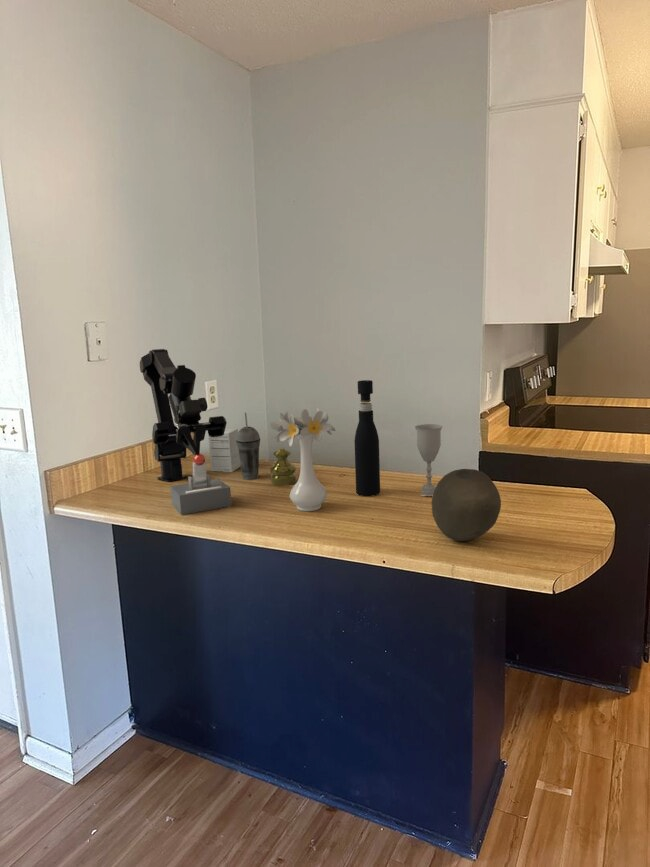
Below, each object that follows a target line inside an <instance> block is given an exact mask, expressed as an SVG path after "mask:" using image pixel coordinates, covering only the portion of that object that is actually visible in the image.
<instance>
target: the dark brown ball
mask: <svg viewBox="0 0 650 867" xmlns="http://www.w3.org/2000/svg"><path fill="white" fill-rule="evenodd" d="M435 486H436V488H435V490H434V493H433V496H432V497H431V513H432V517H433V520H434V522H435V524H436V526H437V528H438V529H439V530H440V531H441V534H443V535H444V536H446V538H448V539H451V540H453V541H457V542H468V541H471V540H474V539H478V538H480V537H482V536H483V535H485V534H486V533H487V532H488V531H489V530H491V529H492V528H493V527H494V525H495V524H496V523H497V520H498V518H499V515H500V511H501V509H502V508H501V507H502V501H501V500H502V499H501V496H500V491H499V490H498V488H497V486H496V484H495V483H494V481H493V480H492V479H491V478H490V477H489V475H488V474H486V473H485V472H483V471H481V470H477V469H473V468H472V469H471V468H459V469H455V470H451V471H450V472H448V473H447V474H445V475H443V476H442V478H441V479H440V480H438V482H437V484H436V485H435Z"/></svg>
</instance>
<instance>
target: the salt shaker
mask: <svg viewBox="0 0 650 867" xmlns="http://www.w3.org/2000/svg"><path fill="white" fill-rule="evenodd" d="M291 453H292V452H291V451H290V450H288V449H286V448H284V447H281V448H278V449H277V450H275V451H274V452H273V456H275V457H276V458H277V461H276V462H275V463H274V464H273V465H272V466H271V467H270V468H269V471H270V474H271V475H270V482H271V484H272V485H274V486H289V485H293V484H296V483H297V474H296V465H294V464H292V463H291V462H290V460H288V457H289V456H290V455H291Z"/></svg>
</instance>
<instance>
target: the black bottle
mask: <svg viewBox="0 0 650 867" xmlns="http://www.w3.org/2000/svg"><path fill="white" fill-rule="evenodd" d="M373 385H374V383H373V380H371V379H369V380H368V379H367V380H365V379H363V380H362V379H361V380H358V381H357V394H358V395H360V403H359V410H358V423H357V427H356V430H355V434H354V464H355V465H354V466H355V467H354V469H355V470H354V471H355V493H357V494H358V496H360V495H363V496H362V497H373V496H372V495H375V496H378V495H380V494H379V493H381V475H380V473H381V472H380V471H381V470H380V469H381V468H380V466H381V465H380V438H379V434H378V429H377V427H376V425H375V421H374V411H373V407H372V406H373V405H372V402H371V400H372V399H371V394H373V393H374V390H373V389H374V388H373ZM357 494H356V495H357ZM377 494H378V495H377Z"/></svg>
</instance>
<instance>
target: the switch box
mask: <svg viewBox="0 0 650 867" xmlns="http://www.w3.org/2000/svg"><path fill="white" fill-rule="evenodd" d="M187 477H188V483H183V484H182V483H181V484H176V485H170V489H169V490H170V499H171V506H174V507H175V508H176V509H175V508H174V507H173V508H174V509H175V510H176V511H177V512H178V514H179V515H181V516H184V515H189V513H190V514H194V512H195V513H200V512H199V511H201V512H206V511H205V510H207V511H211V510H212V511H213V510H217V508H218V509H222V508H223V507H224V508H228V506H229V507H232V495H231V494H232V493H231V492H232V491H231V486H229V485H228V484H226V483H225V482H224V481H222V480H221V479H220V478H216V479H211V476H210V474H208V473H206V483H204V484H198V485H194V483H193V476H187ZM183 514H184V515H183Z"/></svg>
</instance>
